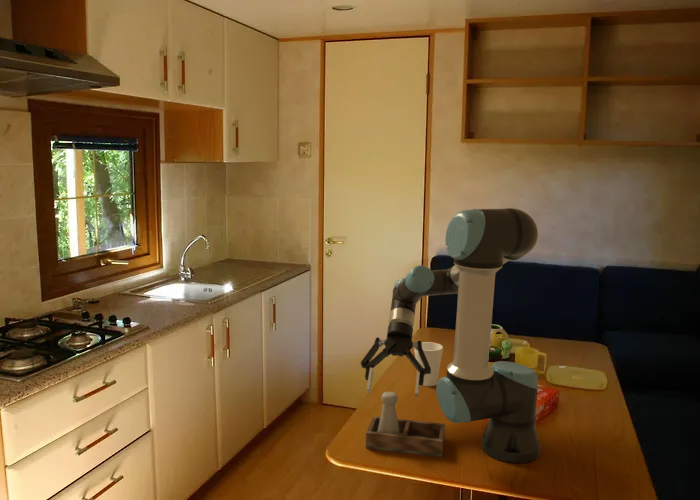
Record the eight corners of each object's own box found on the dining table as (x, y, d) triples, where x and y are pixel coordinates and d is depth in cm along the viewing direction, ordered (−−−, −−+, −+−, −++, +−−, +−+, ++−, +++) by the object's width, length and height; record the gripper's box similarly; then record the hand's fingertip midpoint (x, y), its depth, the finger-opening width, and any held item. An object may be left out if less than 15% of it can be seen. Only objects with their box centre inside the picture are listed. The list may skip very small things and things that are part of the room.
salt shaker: (397, 445, 164) (398, 398, 162) (376, 442, 165) (377, 396, 163) (400, 435, 169) (401, 390, 167) (379, 433, 171) (380, 388, 168)
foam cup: (440, 378, 214) (442, 342, 212) (442, 388, 205) (443, 351, 203) (413, 377, 215) (414, 341, 213) (413, 387, 206) (414, 350, 204)
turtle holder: (493, 368, 225) (495, 336, 223) (469, 352, 242) (471, 323, 240) (522, 364, 229) (524, 333, 227) (497, 349, 246) (498, 320, 244)
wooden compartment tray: (444, 438, 170) (445, 423, 169) (441, 457, 159) (442, 441, 159) (373, 430, 174) (373, 416, 173) (365, 448, 164) (366, 432, 163)
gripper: (442, 335, 186) (437, 402, 174) (361, 329, 191) (350, 394, 179) (442, 323, 180) (436, 391, 168) (358, 317, 185) (347, 383, 173)
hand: (392, 393), depth 173 cm, fingers open, 13 cm apart
